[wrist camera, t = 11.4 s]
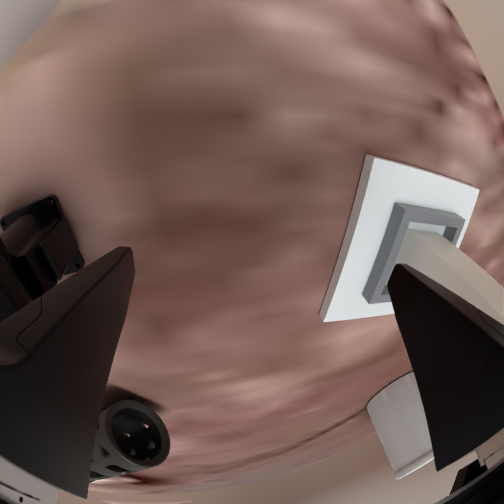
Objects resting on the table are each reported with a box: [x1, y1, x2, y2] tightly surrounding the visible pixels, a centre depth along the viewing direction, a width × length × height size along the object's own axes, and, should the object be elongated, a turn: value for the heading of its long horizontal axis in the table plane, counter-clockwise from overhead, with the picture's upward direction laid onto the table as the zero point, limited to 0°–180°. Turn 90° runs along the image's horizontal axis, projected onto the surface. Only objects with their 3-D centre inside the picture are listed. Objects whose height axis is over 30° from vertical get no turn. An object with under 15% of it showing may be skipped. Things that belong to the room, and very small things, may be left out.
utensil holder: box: [367, 372, 434, 480], centre depth 38 cm, size 15×15×18 cm
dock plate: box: [319, 154, 479, 322], centre depth 24 cm, size 16×16×3 cm
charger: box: [389, 228, 504, 325], centre depth 19 cm, size 5×5×13 cm
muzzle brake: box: [89, 397, 170, 483], centre depth 29 cm, size 10×28×10 cm, turn 131°
